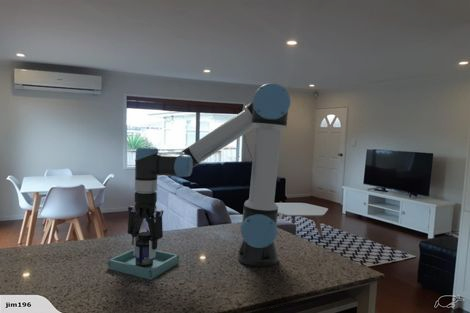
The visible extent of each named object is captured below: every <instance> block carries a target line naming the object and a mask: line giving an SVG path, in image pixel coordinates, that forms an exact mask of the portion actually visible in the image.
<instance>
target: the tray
mask: <svg viewBox="0 0 470 313" xmlns="http://www.w3.org/2000/svg"><path fill="white" fill-rule="evenodd" d="M179 257H180V256H179V254H176V253H171V252H166V251H163V250H158V249H157V250H156V256H155V257H154V258H153V264H152V265H150V266H146V267H140V266H137V265H136V255H135V256H134V255H133V249H131V250H128V251H126V252H123V253H121V254H119V255H117V256H115V257H112V258H109V259H108V265H107V266H108V267H107V268H108V270H112V271H115V272H119V273H123V274H128V275H132V276H135V277H139V278H142V279H147V280H150V281H151V280H153V279H154V278H156V277H158V276H160V275H161V274H163V273H165V272H166V271H168V270H170V269H172V268H173V267H175V266H176V265H179V261H180V260H179Z"/></svg>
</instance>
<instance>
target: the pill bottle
mask: <svg viewBox="0 0 470 313" xmlns="http://www.w3.org/2000/svg"><path fill="white" fill-rule="evenodd" d="M138 238H139V239H138V240H137V241H136V265H137V266H140V267H146V266H150V265H152V264H153V258H152V259H149V240H151V236H150V231H141V232H140V231H139V233H138Z"/></svg>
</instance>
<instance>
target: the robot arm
mask: <svg viewBox="0 0 470 313" xmlns="http://www.w3.org/2000/svg"><path fill="white" fill-rule="evenodd" d="M290 107H291V97H290V94H289V92H288V91H287V89H286V88H285V87H284V86H283V85H281V84H279V83H275V82H268V83H265V84H263V85H261V86H260V87H258V88H257V89H256V91H255V92H254V95H253V97H252V101H251V102H249V103H247V104H246V105H245V107H244V109H243V110H242V111H241V112H239V113H238V114H237V115H235V116H233V117H231V118H230V119H228V120H227V121H225V122H224V123H223V124H221V125H220V126H218V127H217V128H215V129H213V130H211V131H210V132H209V133H207V134H206V135H204V136H203V137H201V138H200V139H198V140H197V141H195V142H194V143H193V144H191V145H189V146H187V147H186V148H185V149H183V150H181V151H180V152H178V153H177V152H176V153H173V154H172V153H160V152H159V149H158V147H151V146H140V147H137V148H136V150H135V159H134V163H135V164H134V165H135V167H134V168H135V169H134V170H135V172H134V191H135V192H134V203H135V204H134V205H132V206H128V207H127V210H128V220H127V221H128V222H127V235H130V236H131V237H132V239H131V240H132V242H131V245H132V246H133V248H132V250H133V255H134V256H135V255H136V241H137V240H138V239H139V238H138V233H140V231H141V228H142V224H143V222H144V219H145V221H146V222H147V225H148V230H149V231H148V232H150V236H151V240H149V259H152V258H154V257H155V256H156V249H157V250H158V240H161V239H163V237H164V236H163V235H164V234H163V215H164V210H163V209H162V210H160V209H158V208H157V205H156V204H157V202H158V201H157V200H158V198H157V197H158V196H157V195H158V192H157V191H158V176H166V177H167V176H169V177H179V178H182V177H190V176H191V175H192V173H193V168H194V167H196V166H199V164H200V163H202V162H203V161H205V160H207V159H208V158H210V157H211V156H213V155H215V154H216V153H217V152H219V151H221V150H222V149H224V148H225V147H227V146H228V145H230V144H231V143H233V142H235V141H236V140H238V139H239V138H241V137H242V136H244V135H245V134H247V133H249V132H250V131H251V130H253V129H255V131H254V133H255V134H254V143H253V151H252V152H253V155H252V163H251V164H252V165H251V173H250V174H251V175H250V186H249V193H248V194H249V197H248V199H247V200H245V201H244V204H243V209H242V210H243V212H242V222H241V226H240V234H241V238H242V240H241V241H242V242H241V244H240V245H239V246H240V247H239V248H238V249H239V250H238V253H237V260H238V261H239V263H242V264H244V265H245V266H250V267H259V268H263V267H270V266H273V265H276V264H277V262H278V252H277V248H276V244H275V239H276V238H277V236H278V235H277V234H278V226H277V222H278V215H279V214H278V210H279V206H278V205H277V204H276V202H275V199H276V198H275V196H276V188H277V177H278V170H279V169H278V166H279V160H280V159H279V157H280V150H281V146H280V145H281V139H282V138H281V137H282V131H283V130H285V129H286V128H287V124H288V114H289V110H290Z"/></svg>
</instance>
